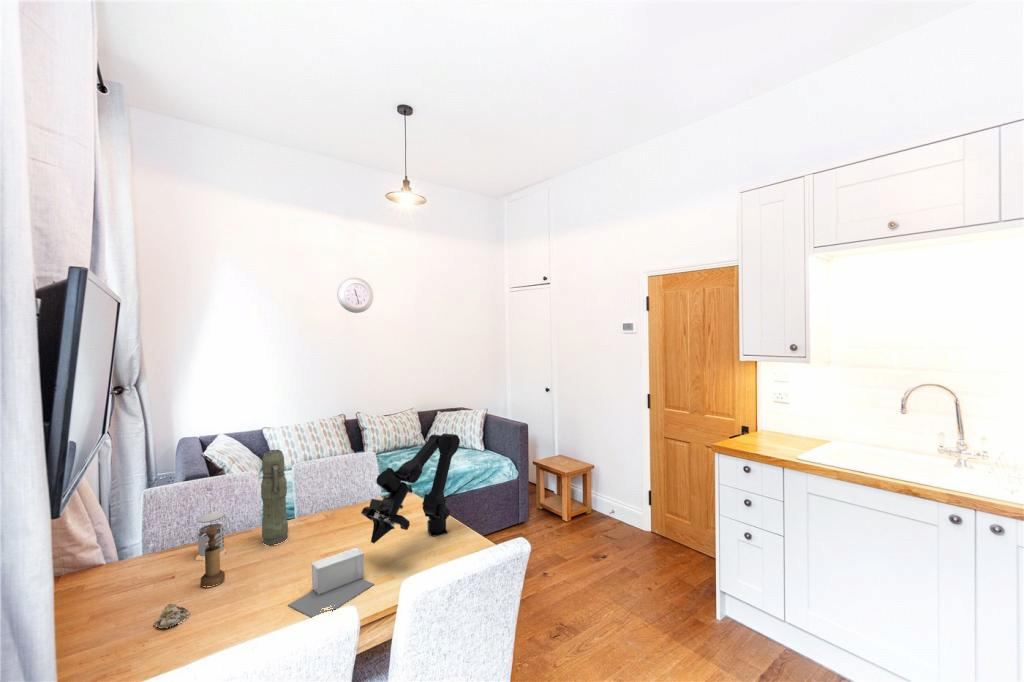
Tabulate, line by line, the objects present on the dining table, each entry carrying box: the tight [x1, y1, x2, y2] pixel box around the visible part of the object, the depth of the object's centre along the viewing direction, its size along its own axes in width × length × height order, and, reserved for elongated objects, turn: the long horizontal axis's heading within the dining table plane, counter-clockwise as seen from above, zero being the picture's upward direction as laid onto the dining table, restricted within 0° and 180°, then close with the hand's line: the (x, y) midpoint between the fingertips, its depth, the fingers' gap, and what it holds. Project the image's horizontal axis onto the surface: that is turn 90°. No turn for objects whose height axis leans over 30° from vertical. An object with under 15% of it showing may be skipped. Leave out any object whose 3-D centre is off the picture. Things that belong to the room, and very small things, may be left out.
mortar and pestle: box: [200, 526, 226, 587], centre depth 141 cm, size 7×6×18 cm
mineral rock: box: [153, 603, 192, 629], centre depth 123 cm, size 11×4×8 cm
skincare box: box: [311, 547, 365, 595], centre depth 139 cm, size 8×6×15 cm
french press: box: [196, 485, 231, 556], centre depth 162 cm, size 10×12×25 cm
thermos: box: [260, 449, 289, 546], centre depth 170 cm, size 9×12×35 cm
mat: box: [287, 578, 375, 618], centre depth 133 cm, size 20×14×1 cm
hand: (372, 542), depth 147 cm, fingers closed
